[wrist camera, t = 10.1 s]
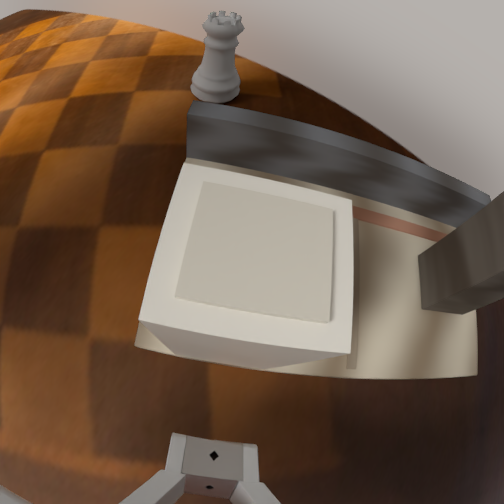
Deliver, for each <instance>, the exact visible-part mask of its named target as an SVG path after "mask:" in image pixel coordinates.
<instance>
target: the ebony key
mask: <svg viewBox="0 0 504 504" xmlns="http://www.w3.org/2000/svg"><path fill="white" fill-rule="evenodd" d="M418 262H419V273H420V287H421V308H422V309H423V310H431V311H438V312H445V313H453V314H461V315H463V314H466V313H468V312H471V311H473V310H476V309H478V308H481V307H483V306H486V305H488V304H490V303H493V302H495V301H497V300H500V299H502V298H504V192H502V193H501V194H500V195H499V196H497V197H496V198H495V199H494V200H493V201H491V202H490V203H489V204H487V205H486V206H485V207H484V208H482V209H481V210H480V211H479V212H477V213H476V214H475V215H473V216H472V217H471V218H469V219H468V220H467V221H465V222H464V223H463V224H461V225H460V226H459V227H457V228H456V229H455V230H453V231H452V232H451V233H449V234H448V235H446V236H445V237H444V238H442V239H441V240H440V241H438V242H437V243H435V244H434V245H432V246H431V247H430V248H428V249H427V250H425V251H424V252H422V253H421V254H419V255H418Z"/></svg>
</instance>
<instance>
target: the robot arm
mask: <svg viewBox="0 0 504 504" xmlns="http://www.w3.org/2000/svg"><path fill="white" fill-rule="evenodd" d="M186 438H187V439H186ZM183 493H190V494H197V495H206V496H213V497H220V498H229V499H230V501H231V503H232V504H281V503H280V502H279V501H278V500H277V499H276V497H275V496H274V495H273V494H272V493H271V491H270V490H269V489H268V488H267V486H266V485H265V484H264V483H261V482H259V464H258V447H257V445H256V444H247V443H239V442H229V441H220V440H211V439H205V438H198V437H193V436H187V435H183V434H178V433H172V436H171V441H170V446H169V451H168V456H167V462H166V467H165V470H160V471H158V472H157V473H156V474H155V475H154V476H153V477H151V478H150V479H149V480H148V481H147V482H145V483H144V484H143V485H142V486H141V487H139V488H138V489H137V490H136V491H134V492H133V493H132V494H131V495H129V496H128V497H127V498H125V499H124V500H123V501H122V502H120V503H119V504H174V503H175V502H176V501H177V500H178V499H179V498H180V497H181V496H182V495H183ZM0 504H33V503H31V502H29V501H27V500H26V499H24V498H22V497H20V496H18V495H17V494H15V493H13V492H12V491H10V490H8V489H7V488H5V487H3V486H2V485H0Z"/></svg>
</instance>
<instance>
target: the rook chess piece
mask: <svg viewBox="0 0 504 504" xmlns="http://www.w3.org/2000/svg"><path fill="white" fill-rule="evenodd" d="M241 18H242V17H241V16H240V15H239V16H237V17H236V13H234V12H231V13H230V16H225V11H219V16H216V12H212V13H210V15H208V20H206V21H205V22H204V24H203V25H202V26H203V29H204V30H205V31H206V32H207V37H206V38H205V39H204V43H205V45H206V46H205V52H204V56H203V60H202V63H201V65H200V66H199V67H198V69H197V71H196V72H195V73H194V75H193V77H192V85H191V92H192V93H193V94H194V95H195V96H196V97H197V98H198V99H199V100H201V101H203V102H208V103H214V104H223V103H226V102H229V101H231V100H232V99H233V98H235V97H236V96H237V95H238V94H239V91H240V88H239V85H240V77H239V75H238V73H237V70H236V68H235V47H236V46H237V45H238V44H239V42H238V40H237V35H239V34H240V33H241V32H242V31H243V30H244V26H243V25H242V23H241Z"/></svg>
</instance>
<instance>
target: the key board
mask: <svg viewBox="0 0 504 504" xmlns="http://www.w3.org/2000/svg"><path fill="white" fill-rule="evenodd" d="M185 163H187V164H193V165H199V166H204V167H210V168H215V169H220V170H226V171H231V172H236V173H241V174H246V175H250V176H255V177H260V178H264V179H269V180H273V181H278V182H282V183H287V184H291V185H295V186H299V187H303V188H307V189H312V190H316V191H319V192H323V193H327V194H331V195H335V196H339V197H342V198H346V199H350V200H352V216H353V316H352V336H351V352H350V354H346V355H342V356H337V357H332V358H327V359H322V360H317V361H311V362H306V363H300V364H294V365H288V366H282V367H275V368H269V369H255V368H248V367H241V366H234V365H228V364H222V363H216V362H210V361H205V360H199V359H194V358H189V357H184V356H179V355H175V354H174V353H173V352H172V351H171V350H169V349H168V348H167V347H166V346H165V345H164V344H163V343H162V342H161V341H160V340H159V339H158V338H157V337H156V336H155V335H154V334H153V333H151V332H150V331H149V330H148V329H147V328H146V327H145V326H144V325H143V324H142V323H141V322H140V321H139V325H138V330H137V335H136V339H135V344H134V346H136V347H138V348H143V349H147V350H151V351H155V352H159V353H164V354H168V355H173V356H178V357H183V358H188V359H193V360H198V361H203V362H209V363H215V364H220V365H226V366H233V367H239V368H246V369H253V370H261V371H269V372H277V373H286V374H296V375H307V376H319V377H334V378H353V379H435V378H453V377H467V376H474V375H477V365H478V347H477V320H476V310H473V311H471V312H468V313H466V314H463V315H461V314H453V313H445V312H438V311H431V310H423V309H422V308H421V287H420V273H419V262H418V255H419V254H421V253H422V252H424V251H425V250H427V249H428V248H430V247H431V246H432V245H434V244H435V243H437V242H438V241H440V240H441V239H442V238H444V237H445V236H446V235H448V234H449V233H451V232H452V231H453V230H455V229H456V228H457V227H459V226H460V225H461V224H463V223H464V222H465V221H467V220H468V219H469V218H471V217H472V216H473V215H475V214H476V213H477V212H479V211H480V210H481V209H482V208H484V207H485V206H486V205H487V204H489V203H490V202H491V199H490V196H489V195H487V194H485V193H484V192H482V191H480V190H478V189H476V188H474V187H472V186H470V185H468V184H466V183H464V182H462V181H460V180H457V179H456V178H454V177H451V176H449V175H447V174H445V173H443V172H440V171H438V170H436V169H434V168H432V167H429V166H427V165H425V164H422V163H420V162H418V161H415V160H413V159H410V158H408V157H405V156H403V155H400V154H398V153H395V152H393V151H390V150H387V149H385V148H382V147H379V146H376V145H374V144H371V143H368V142H365V141H362V140H359V139H356V138H353V137H350V136H347V135H344V134H341V133H337V132H334V131H331V130H327V129H324V128H321V127H317V126H314V125H310V124H306V123H303V122H299V121H295V120H291V119H287V118H283V117H279V116H274V115H270V114H266V113H261V112H257V111H252V110H247V109H242V108H237V107H231V106H226V105H220V104H214V103H208V102H201V101H195V100H193V102H192V104H191V106H190V109H189V111H188V113H187V158H186V161H185Z"/></svg>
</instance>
